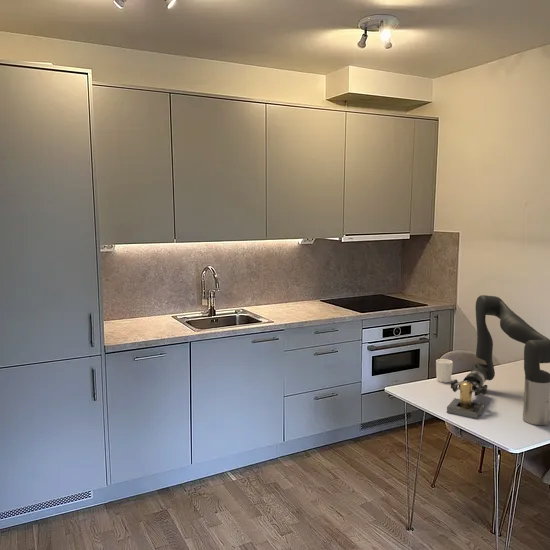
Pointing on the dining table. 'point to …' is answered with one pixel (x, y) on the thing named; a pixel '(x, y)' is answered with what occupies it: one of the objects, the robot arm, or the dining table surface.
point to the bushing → (466, 395)
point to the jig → (465, 409)
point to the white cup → (443, 370)
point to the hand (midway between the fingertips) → (464, 391)
